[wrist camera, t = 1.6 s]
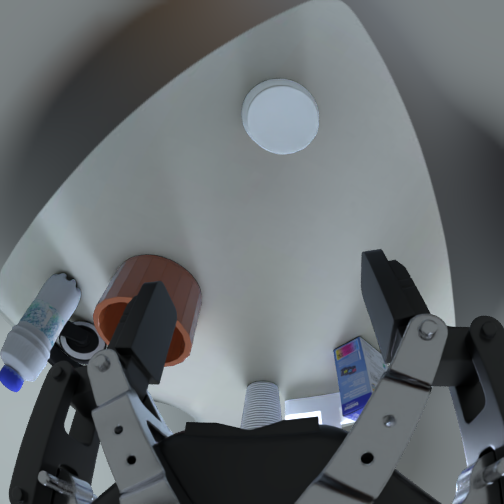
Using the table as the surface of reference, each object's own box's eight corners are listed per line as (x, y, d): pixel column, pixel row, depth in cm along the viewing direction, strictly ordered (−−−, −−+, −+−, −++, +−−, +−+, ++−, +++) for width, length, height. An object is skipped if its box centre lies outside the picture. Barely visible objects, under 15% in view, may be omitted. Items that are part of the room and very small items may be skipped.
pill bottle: (258, 142, 28) (256, 174, 19) (237, 90, 25) (223, 96, 16) (313, 124, 26) (337, 148, 18) (294, 70, 23) (310, 67, 15)
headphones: (129, 406, 44) (60, 386, 49) (143, 373, 50) (75, 360, 55) (72, 343, 35) (11, 329, 39) (97, 306, 41) (31, 302, 46)
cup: (279, 374, 49) (280, 455, 36) (289, 395, 53) (291, 466, 40) (233, 380, 50) (226, 457, 38) (248, 400, 55) (244, 469, 42)
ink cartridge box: (330, 350, 45) (342, 431, 33) (358, 334, 42) (378, 416, 30) (360, 371, 48) (374, 441, 36) (385, 356, 46) (405, 427, 34)
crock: (106, 296, 40) (85, 335, 34) (133, 237, 34) (106, 278, 28) (178, 335, 44) (167, 377, 37) (219, 286, 38) (210, 333, 31)
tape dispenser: (367, 405, 57) (374, 446, 48) (289, 417, 60) (291, 459, 51) (371, 385, 52) (380, 431, 43) (283, 400, 54) (284, 447, 45)
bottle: (72, 305, 42) (20, 403, 25) (45, 277, 39) (-18, 372, 22) (92, 293, 40) (35, 402, 23) (63, 261, 37) (-9, 366, 20)
